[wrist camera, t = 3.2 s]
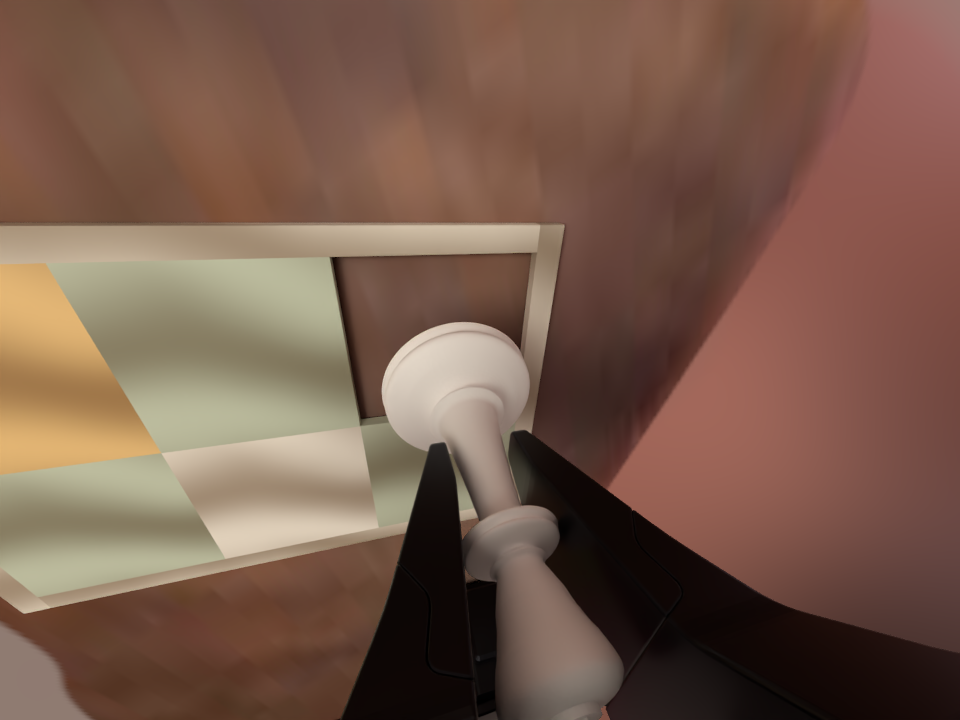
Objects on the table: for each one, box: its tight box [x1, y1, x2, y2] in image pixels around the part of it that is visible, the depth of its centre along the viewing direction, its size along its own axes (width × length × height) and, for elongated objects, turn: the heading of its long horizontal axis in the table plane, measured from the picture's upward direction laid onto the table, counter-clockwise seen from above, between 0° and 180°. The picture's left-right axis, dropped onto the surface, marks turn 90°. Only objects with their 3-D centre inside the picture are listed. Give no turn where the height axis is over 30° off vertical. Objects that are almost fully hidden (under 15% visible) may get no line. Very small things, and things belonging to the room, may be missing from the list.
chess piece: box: [382, 322, 624, 720], centre depth 8 cm, size 5×5×10 cm
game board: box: [0, 223, 565, 614], centre depth 15 cm, size 17×24×1 cm
